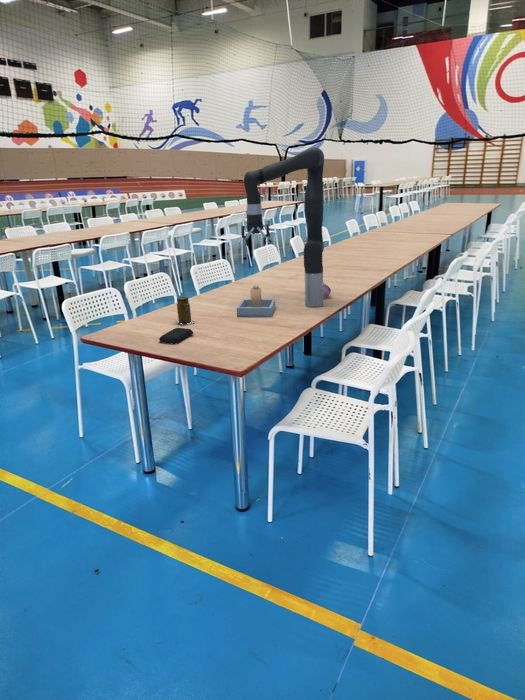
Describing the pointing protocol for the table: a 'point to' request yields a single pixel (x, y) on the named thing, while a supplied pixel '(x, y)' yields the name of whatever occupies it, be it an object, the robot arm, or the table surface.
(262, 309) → the bin
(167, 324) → the table surface
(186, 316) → the condiment
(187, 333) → the carrying case or bag
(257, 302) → the cruet
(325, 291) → the pencil case
